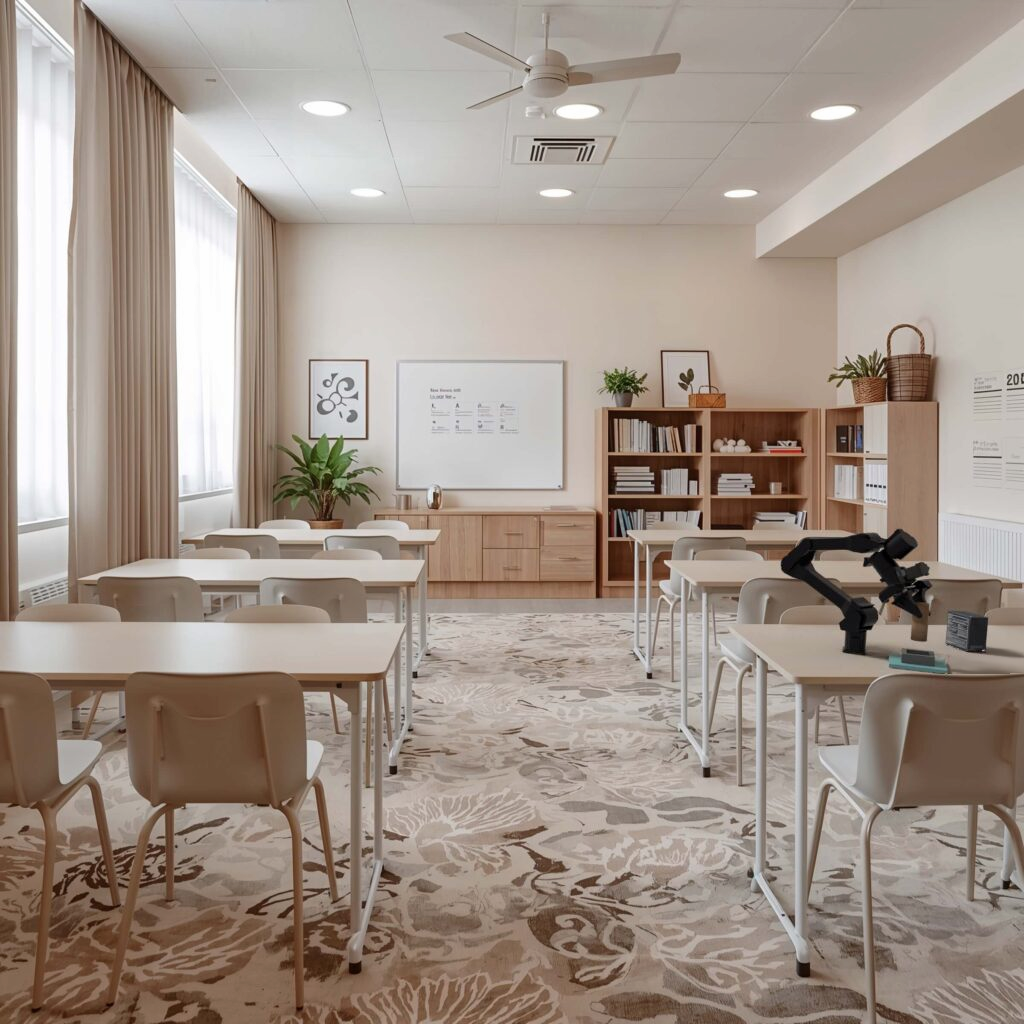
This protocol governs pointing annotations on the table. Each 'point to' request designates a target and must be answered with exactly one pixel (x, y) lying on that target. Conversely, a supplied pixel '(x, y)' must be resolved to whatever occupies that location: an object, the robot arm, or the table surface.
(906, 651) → the docking socket
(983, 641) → the small box
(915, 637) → the peg
